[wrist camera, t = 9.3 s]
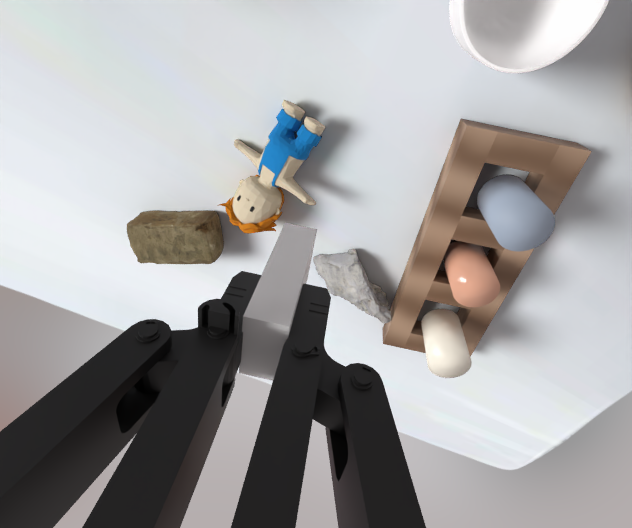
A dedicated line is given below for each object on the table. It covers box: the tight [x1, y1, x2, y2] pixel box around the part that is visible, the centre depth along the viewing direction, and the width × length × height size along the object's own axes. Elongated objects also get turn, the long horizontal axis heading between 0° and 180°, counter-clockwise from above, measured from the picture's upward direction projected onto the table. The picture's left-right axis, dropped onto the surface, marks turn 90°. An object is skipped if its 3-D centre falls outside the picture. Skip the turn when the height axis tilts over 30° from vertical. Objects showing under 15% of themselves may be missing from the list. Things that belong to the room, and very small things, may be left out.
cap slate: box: [477, 175, 555, 251], centre depth 35 cm, size 5×5×7 cm
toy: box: [218, 100, 325, 233], centre depth 41 cm, size 12×6×15 cm
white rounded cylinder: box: [421, 309, 471, 378], centre depth 45 cm, size 5×5×7 cm
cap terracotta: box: [443, 241, 500, 307], centre depth 42 cm, size 5×5×7 cm
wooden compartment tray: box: [383, 119, 592, 356], centre depth 45 cm, size 30×12×3 cm, turn 170°
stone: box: [313, 249, 391, 323], centre depth 49 cm, size 6×12×4 cm, turn 32°
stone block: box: [127, 211, 224, 264], centre depth 47 cm, size 6×12×5 cm, turn 95°
